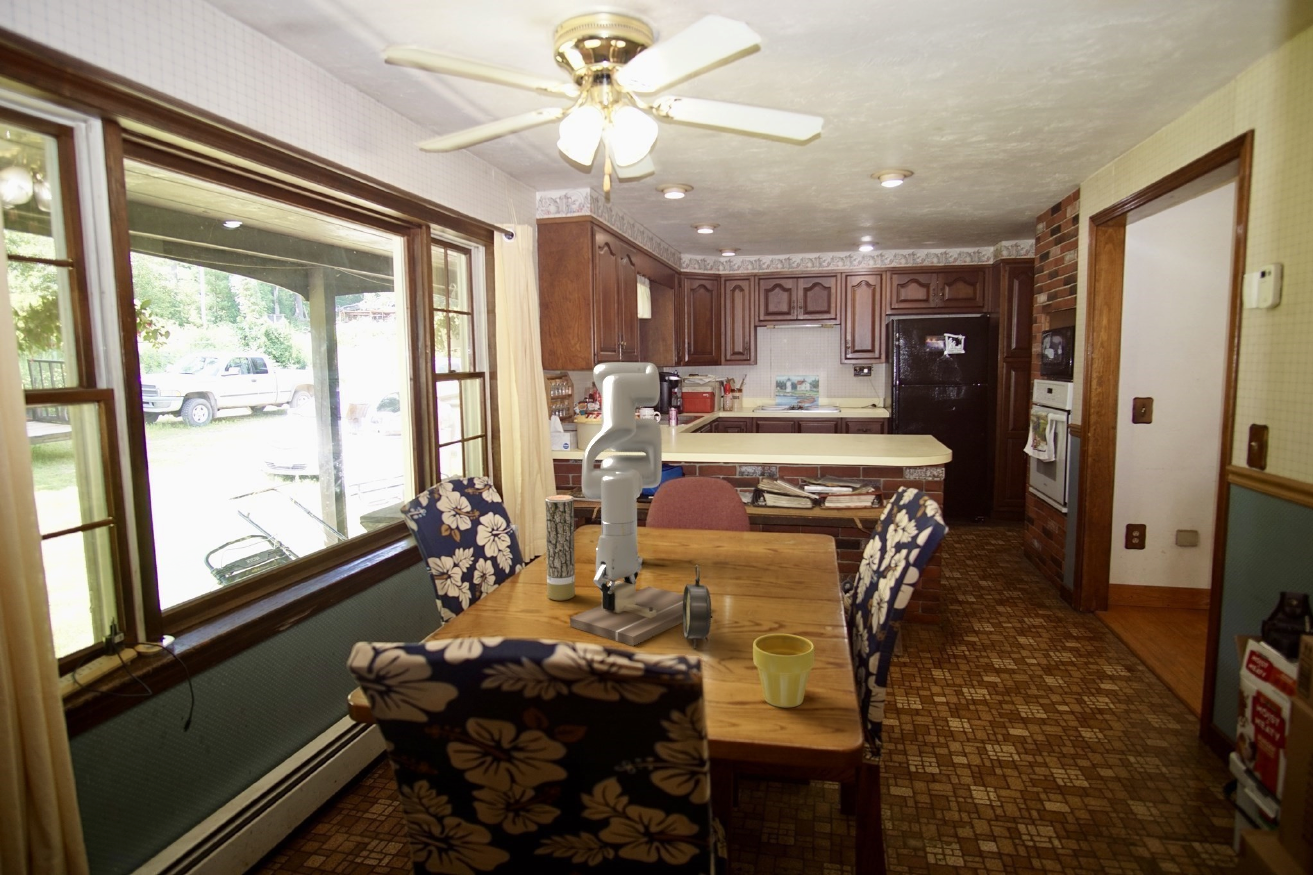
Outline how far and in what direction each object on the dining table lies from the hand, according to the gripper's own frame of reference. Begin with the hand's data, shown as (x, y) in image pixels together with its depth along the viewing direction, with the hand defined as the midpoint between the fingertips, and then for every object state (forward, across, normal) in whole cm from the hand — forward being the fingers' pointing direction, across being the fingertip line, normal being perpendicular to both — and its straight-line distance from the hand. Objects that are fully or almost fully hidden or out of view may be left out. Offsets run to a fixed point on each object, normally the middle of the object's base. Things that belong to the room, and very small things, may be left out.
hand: (618, 604), depth 161 cm
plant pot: (+3, +13, +49) cm, 51 cm away
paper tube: (+3, -1, -20) cm, 20 cm away
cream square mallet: (+1, 0, +4) cm, 4 cm away
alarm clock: (+3, +1, +23) cm, 23 cm away
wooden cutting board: (+3, -2, +5) cm, 6 cm away
